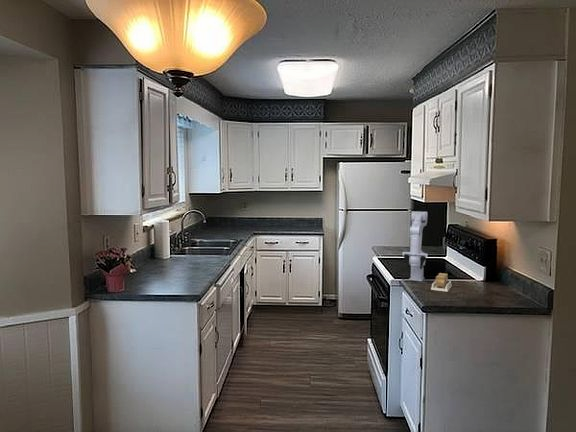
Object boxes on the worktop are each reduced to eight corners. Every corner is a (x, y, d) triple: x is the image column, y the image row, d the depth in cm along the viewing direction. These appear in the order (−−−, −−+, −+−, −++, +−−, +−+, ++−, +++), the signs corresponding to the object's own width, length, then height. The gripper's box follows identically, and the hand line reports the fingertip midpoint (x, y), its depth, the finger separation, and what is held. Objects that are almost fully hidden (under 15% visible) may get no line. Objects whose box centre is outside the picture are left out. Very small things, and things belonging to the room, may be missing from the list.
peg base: (435, 284, 271) (436, 279, 271) (451, 286, 267) (452, 280, 266) (430, 289, 259) (431, 284, 259) (447, 291, 254) (447, 286, 254)
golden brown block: (439, 281, 269) (439, 272, 268) (447, 282, 266) (447, 273, 266) (435, 285, 258) (435, 277, 258) (443, 286, 256) (443, 278, 255)
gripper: (401, 245, 267) (400, 268, 268) (426, 247, 260) (425, 270, 261) (404, 244, 273) (403, 266, 274) (428, 245, 266) (428, 268, 267)
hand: (414, 268), depth 268 cm, fingers open, 7 cm apart
